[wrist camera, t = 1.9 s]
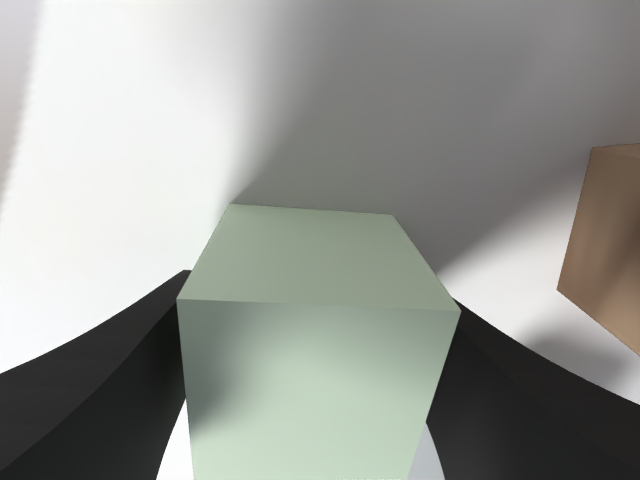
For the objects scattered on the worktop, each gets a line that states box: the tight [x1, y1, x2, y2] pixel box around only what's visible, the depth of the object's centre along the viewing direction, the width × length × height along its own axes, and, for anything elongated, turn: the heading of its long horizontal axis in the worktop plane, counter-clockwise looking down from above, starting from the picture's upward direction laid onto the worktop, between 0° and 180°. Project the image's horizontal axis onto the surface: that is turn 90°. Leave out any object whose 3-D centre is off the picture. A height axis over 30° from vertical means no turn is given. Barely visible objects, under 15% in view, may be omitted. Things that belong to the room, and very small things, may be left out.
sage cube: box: [176, 204, 461, 480], centre depth 9 cm, size 5×5×5 cm
